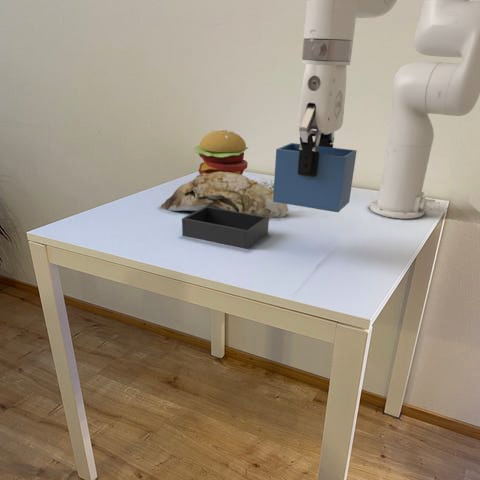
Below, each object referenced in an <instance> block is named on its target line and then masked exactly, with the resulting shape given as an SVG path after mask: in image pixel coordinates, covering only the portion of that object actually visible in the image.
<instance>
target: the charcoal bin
mask: <svg viewBox="0 0 480 480" xmlns="http://www.w3.org/2000/svg"><path fill="white" fill-rule="evenodd" d="M269 220H270V218H269V217H264V216H259V215H253V214H247V213H242V212H236V211H231V210H225V209H219V208H214V207H208V206H205V207H203V208H201V209H200V210H198V211H193V212H191V213H190V214H188V215H186V216H184V217H182V218H181V232H182V234H181V235H182V237H186V238H192V239H197V240H201V241H204V242H205V241H206V242H210V243H216V244H220V245H224V246H230V247H235V248H239V249H243V250H249V249H251V248H252V247H253V246H255V245H256V244H258V243H259V242H260V241H262V239H263V238H265V237H266V236H267V235H269V224H270V223H269V222H270V221H269Z"/></svg>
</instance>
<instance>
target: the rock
mask: <svg viewBox="0 0 480 480" xmlns="http://www.w3.org/2000/svg"><path fill="white" fill-rule="evenodd" d="M273 194H274V191H272V190H271V187H268V186H265V185H264V184H261V183H259V182H258V181H255V180H252V179H250V178H248V177H247V176H245V175H243V174H242V175H240V174H235V173H231V172H214V173H209V174H206V173H202V174H200V173H198V174H197V175H196V177H195V178H194V179H192V180H191V181H187V182H186V183H184V184H182V185H180V186H179V187H178V188H177V189H176V190H175V191H174V192H173V194H172V195H171V196H170V197H169V198H167V199H166V200H165V202H163V203H162V204H161V205H160V208H161V209H164V210H166V211H169V212H181V211H185V212H187V211H189V212H196V211H198V210H200V209H201V208H203V207H205V206H208V207H214V208H219V209H225V210H231V211H236V212H242V213H247V214H253V215H259V216H264V217H269V219H276V218H278V219H280V218H284V217H286V215H288V212H289V208H288V204H284V203H278V202H273Z"/></svg>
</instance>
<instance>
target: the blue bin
mask: <svg viewBox="0 0 480 480" xmlns="http://www.w3.org/2000/svg"><path fill="white" fill-rule="evenodd" d="M299 146H300V143H295V142H290V143H287V144H286V145H283V146H280V147H278V148H276V149H275V161H274V162H275V165H274V179H273V185H274V194H273V202H278V203H284V204H286V205H291V206H297V207H303V208H309V209H314V210H321V211H326V212H333V213H340V211H342V209H344V208H345V207H346V206H347V205H348V204H349V203H350V199H351V193H352V186H353V185H352V184H353V179H354V173H355V166H356V158H357V152H358V151H357V150H356V149H347V148H340V147H333V148H331V147H323V146H318V149H317V151H318V152H319V159H318V168H317V175H316V176H315V177H310V176H303V175H299V174H298V163H299V151H300V150H299Z"/></svg>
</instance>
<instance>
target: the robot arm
mask: <svg viewBox="0 0 480 480" xmlns="http://www.w3.org/2000/svg"><path fill="white" fill-rule="evenodd" d="M397 1H398V0H306V7H305V17H304V28H303V44H302V52H301V53H302V54H301V64H302V65H303V64H304V65H305V66H304V72H303V80H302V86H301V93H300V102H299V111H298V130H299V131H298V132H299V144H300V146H299V150H300V151H299V163H298V174H299V175H303V176H310V177H315V176H316V175H317V168H318V159H319V152H318V151H317V149H318V146H323V147H331V148H334V142H335V132H336V131H338V130H340V129H341V128H342V126H343V123H344V115H345V105H346V103H345V101H346V91H347V90H346V89H347V66H351V60H352V53H353V45H354V37H355V28H356V22H357V19H372V18H378V17H381V16H384V15H386V14H387V13H389V12H390V11H391V10H392V9H393V7H394V6H395V5H396V3H397ZM413 42H414V43H413V45H414V48H415V50H416V51H417V52H418V53H419V54H420V55H424V56H429V57H440V58H461V59H462V60H461V63H454V62H442V61H423V60H422V61H412V62H409V63H407V64H404V65H403V66H401V67H400V68H399V69H398V70H397V72H395V73H396V74H395V76H394V78H393V82H392V87H391V118H390V127H389V133H388V139H387V143H386V145H387V146H386V150H385V156H384V162H383V168H382V173H381V179H380V183H379V184H380V185H379V191H378V197H377V199H374V200H372V201H371V202H370V203H369V204H370V205H369V209H370V210H371V212H373V213H375V214H376V215H379V216H383V217H387V218H393V219H403V220H404V219H405V220H408V219H409V220H410V219H416V218H420V217H423V216H424V215H425V212H426V209H428V210H431V211H439V209H440V205H441V202H440V201H436V199H431V198H430V199H429V198H426V197H424V194H425V192H423V187H424V183H425V178H426V174H427V169H428V165H429V160H430V155H431V151H432V146H433V142H434V137H435V136H434V135H435V134H434V127H433V124H432V121H431V119H430V117H429V114H430V115H431V114H433V115H441V116H453V117H462V116H466V115H468V114H469V113H471V112H472V110H473V109H474V107H475V106H476V105H477V102H478V99H479V97H480V0H474V1H473V0H472V1H471V0H423V3H422V7H421V10H420V14H419V17H418V20H417V26H416V29H415V34H414V39H413Z"/></svg>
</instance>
